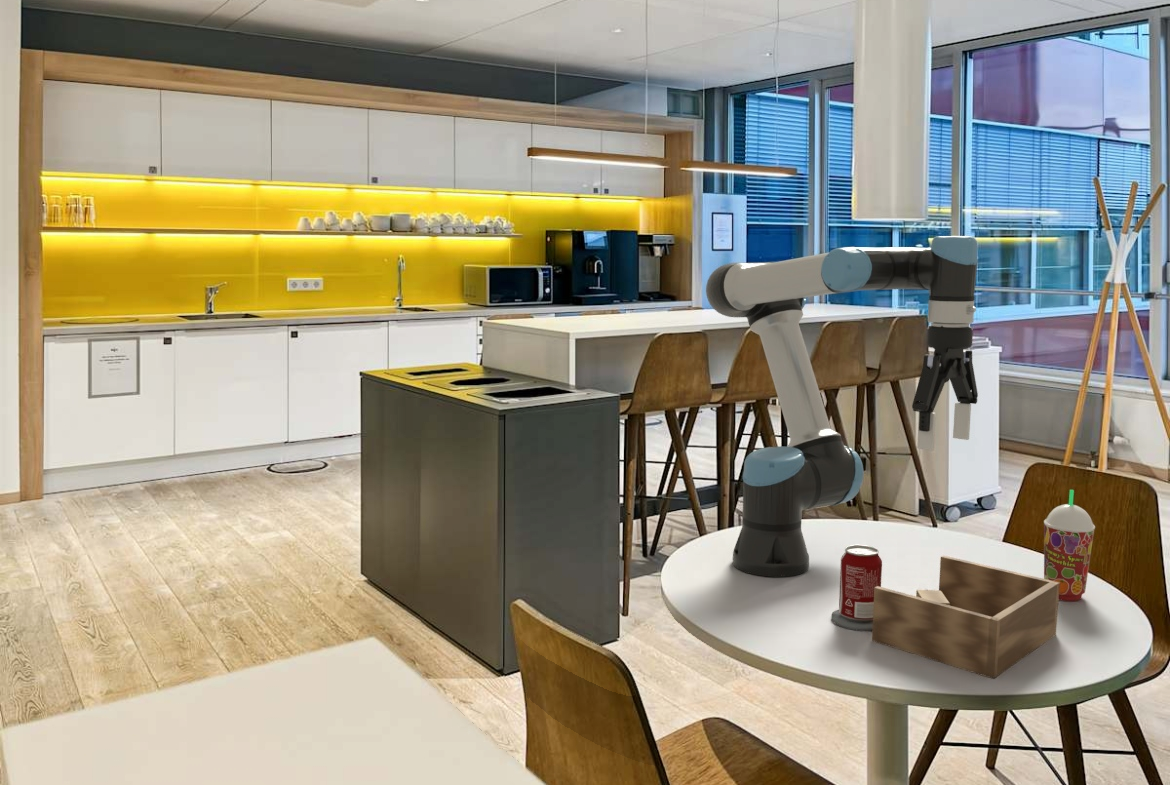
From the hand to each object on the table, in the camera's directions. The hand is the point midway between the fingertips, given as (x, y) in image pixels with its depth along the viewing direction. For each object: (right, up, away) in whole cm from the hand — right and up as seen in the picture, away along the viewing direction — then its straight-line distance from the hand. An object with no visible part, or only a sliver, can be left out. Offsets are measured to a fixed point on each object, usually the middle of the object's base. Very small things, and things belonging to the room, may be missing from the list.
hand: (943, 444), depth 175 cm
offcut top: (-6, -28, -10) cm, 30 cm away
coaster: (-17, -30, -7) cm, 35 cm away
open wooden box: (-2, -31, -14) cm, 34 cm away
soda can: (-17, -30, -7) cm, 35 cm away
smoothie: (+24, -28, +5) cm, 38 cm away
